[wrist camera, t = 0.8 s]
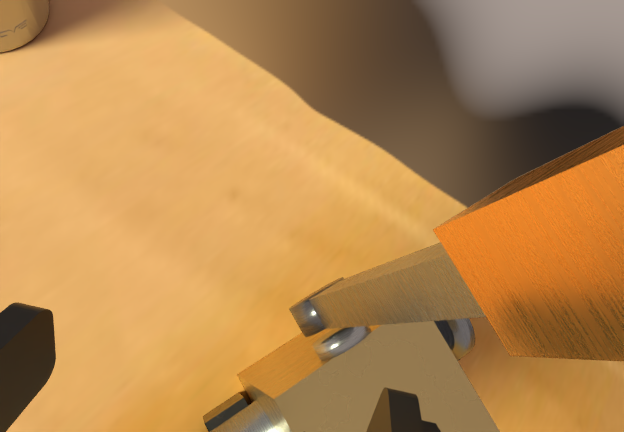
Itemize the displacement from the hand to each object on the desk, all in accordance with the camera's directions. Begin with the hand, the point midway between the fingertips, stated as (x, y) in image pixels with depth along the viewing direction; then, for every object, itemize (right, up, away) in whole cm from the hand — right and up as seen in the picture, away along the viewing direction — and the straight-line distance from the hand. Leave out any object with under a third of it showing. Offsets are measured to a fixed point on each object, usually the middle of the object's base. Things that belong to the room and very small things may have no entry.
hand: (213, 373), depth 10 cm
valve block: (+2, -10, +24) cm, 26 cm away
